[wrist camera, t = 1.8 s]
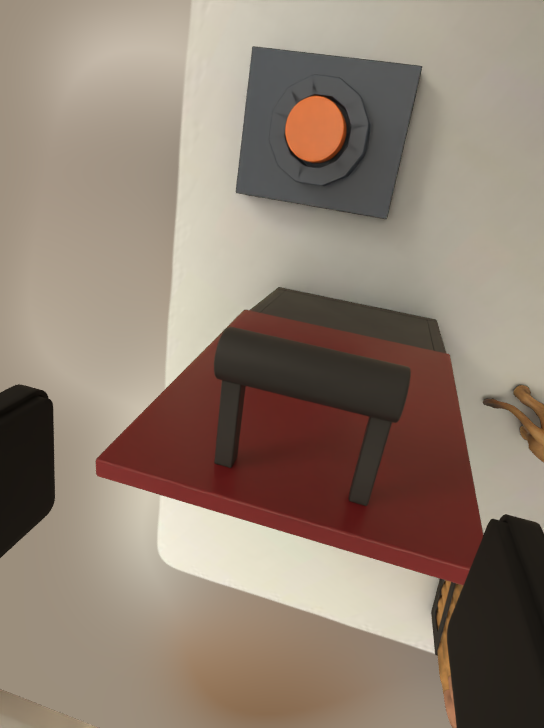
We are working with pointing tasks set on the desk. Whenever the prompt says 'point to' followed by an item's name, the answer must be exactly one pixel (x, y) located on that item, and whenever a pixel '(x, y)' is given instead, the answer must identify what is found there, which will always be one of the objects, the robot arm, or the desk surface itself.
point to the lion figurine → (526, 419)
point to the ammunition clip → (445, 638)
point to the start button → (315, 129)
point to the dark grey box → (353, 318)
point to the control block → (363, 134)
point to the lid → (315, 443)
